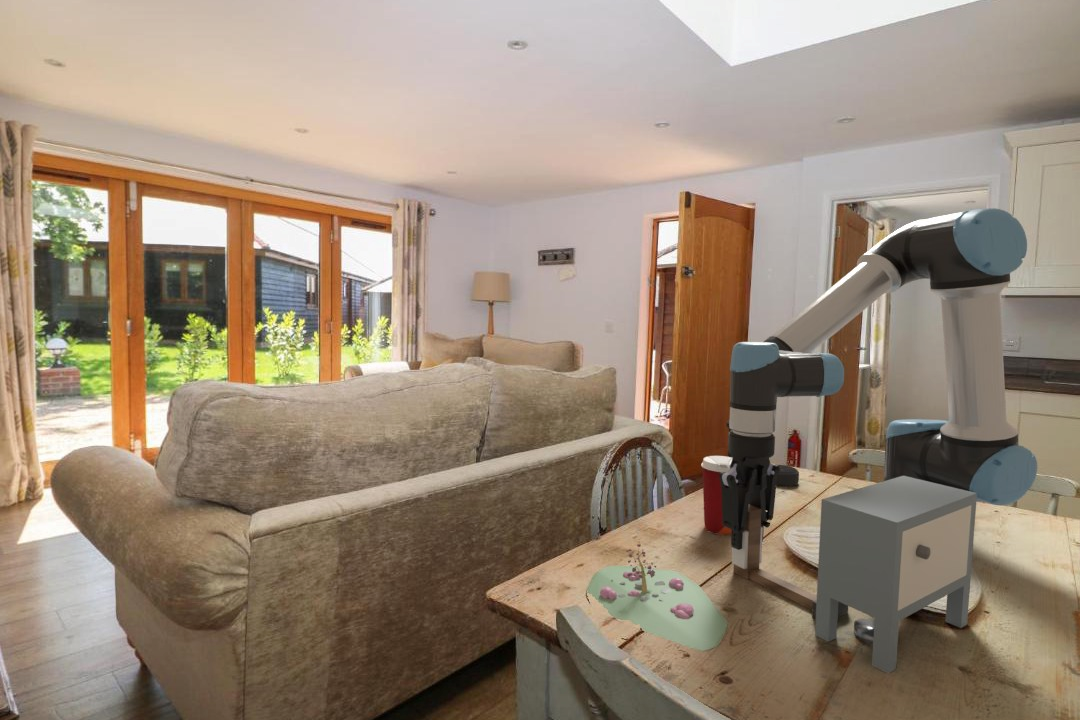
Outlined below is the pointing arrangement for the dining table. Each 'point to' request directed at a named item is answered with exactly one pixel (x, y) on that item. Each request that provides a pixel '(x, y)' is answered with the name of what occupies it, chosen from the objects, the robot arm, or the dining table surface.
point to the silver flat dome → (864, 630)
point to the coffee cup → (714, 493)
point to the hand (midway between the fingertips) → (746, 562)
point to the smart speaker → (787, 476)
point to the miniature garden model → (659, 603)
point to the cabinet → (894, 557)
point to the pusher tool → (768, 579)
